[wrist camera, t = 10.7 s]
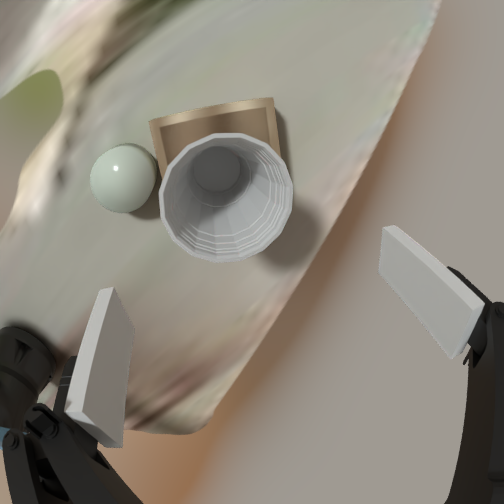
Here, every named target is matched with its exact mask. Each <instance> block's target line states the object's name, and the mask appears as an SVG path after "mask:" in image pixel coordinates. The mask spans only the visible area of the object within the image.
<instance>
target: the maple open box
mask: <svg viewBox="0 0 504 504" xmlns="http://www.w3.org/2000/svg"><path fill="white" fill-rule="evenodd" d="M149 125H150V130H151V134H152V139H153V143H154V148H155V152H156V156H157V161H158V165H159V169H160V173H161V177H162V181H163V178H164V175H165V172H166V170H167V167H168V165H169V164H170V163H171V162H172V161H173V160H174V159H175V158H176V157H177V156H178V155H179V153H180V152H181V151H182V150H183V149H184V148H185V147H186V146H187V145H189V144H191V143H193V142H195V141H198V140H200V139H202V138H204V137H207V136H209V135H211V134H213V133H243V134H246V135H248V136H251V137H253V138H255V139H258V140H260V141H262V142H265V143H267V144H268V145H269V146H270V147H271V148H272V149H273V150H274V151H275V152H276V153H277V154H278V156H279V157H280V158H281V155H280V146H279V138H278V130H277V122H276V115H275V107H274V100H273V98H259V99H252V100H245V101H238V102H232V103H226V104H220V105H214V106H209V107H204V108H199V109H194V110H189V111H185V112H180V113H176V114H172V115H168V116H164V117H160V118H156V119H153V120H151V121H149Z"/></svg>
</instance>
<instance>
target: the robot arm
mask: <svg viewBox="0 0 504 504" xmlns="http://www.w3.org/2000/svg"><path fill="white" fill-rule="evenodd" d="M378 273H379V274H380V275H381V277H382V278H383V279H384V280H385V281H386V282H387V283H388V284H389V286H390V287H391V288H392V289H393V290H394V291H395V292H396V293H397V295H398V296H399V297H400V298H401V299H402V300H403V302H404V303H405V304H406V305H407V306H408V307H409V309H410V310H411V311H412V312H413V313H414V314H415V316H416V317H417V318H418V319H419V321H420V322H421V323H422V324H423V325H424V327H425V328H426V329H427V330H428V332H429V333H430V334H431V335H432V337H433V338H434V339H435V340H436V342H437V343H438V344H439V345H440V347H441V348H442V349H443V351H444V352H445V353H446V355H447V356H448V357H449V358H450V359H452V358H454V357H455V356H457V355H459V354H461V353H462V352H463V350H464V348H465V346H466V344H467V343H468V344H469V345H470V346H471V348H470V350H469V352H468V354H467V356H466V357H465V359H464V361H463V365H465V364H466V362H467V360H468V359H469V364H468V366H469V368H468V369H469V370H468V388H467V402H466V411H465V419H464V427H463V433H462V440H461V445H460V451H459V456H458V461H457V465H456V470H455V474H454V478H453V482H452V486H451V489H450V493H449V496H448V498H447V500H446V502H445V503H444V504H504V303H502V302H494V303H492V302H491V301H490V300H489V299H488V298H487V297H486V296H485V295H484V294H483V293H482V292H480V290H478V289H477V288H476V287H475V286H474V285H473V284H471V282H470V281H469V280H468V279H466V278H465V277H464V276H463V275H462V274H461V273H460V272H459V271H457V270H455V269H453V268H451V267H449V266H448V267H445V266H444V265H443V264H442V263H441V262H440V261H438V260H437V259H436V258H435V257H434V256H433V255H431V254H430V253H429V252H428V251H426V250H425V249H424V248H423V247H422V246H421V245H419V244H418V243H417V242H416V241H414V240H413V239H412V238H411V237H409V236H408V235H407V234H405V233H404V232H403V231H402V230H401V229H399V228H398V227H397V226H395V225H392V226H387V227H383V230H382V241H381V252H380V262H379V270H378ZM134 333H135V328H134V326H133V324H132V322H131V321H130V319H129V317H128V315H127V313H126V311H125V309H124V307H123V305H122V303H121V301H120V299H119V297H118V295H117V292H116V290H115V288H114V287H110V288H105V289H101V290H100V291H99V293H98V296H97V299H96V302H95V304H94V307H93V310H92V313H91V316H90V319H89V322H88V325H87V328H86V331H85V334H84V337H83V340H82V343H81V347H80V350H79V353H78V356H71V357H70V359H69V360H68V362H67V363H66V365H65V367H64V370H63V374H62V378H61V381H60V386H59V388H58V392H57V396H56V399H55V404H54V408H53V411H52V410H51V409H49V408H48V407H47V406H46V405H45V404H42V403H37V400H38V397H39V394H40V393H41V392H42V391H43V389H44V388H45V387H46V386H47V384H48V383H49V382H50V381H51V379H52V378H53V375H54V372H55V369H56V363H55V360H54V358H53V356H52V354H51V353H50V351H49V350H48V349H47V348H46V347H45V346H44V345H43V344H42V343H41V342H40V341H39V340H38V339H36V338H35V337H34V336H32V335H31V334H29V333H27V332H25V331H23V330H21V329H18V328H14V327H4V328H2V329H0V449H1V450H3V457H4V464H5V470H6V476H7V481H8V486H9V491H10V495H11V499H12V503H13V504H143V503H142V502H141V500H140V499H139V498H138V497H137V496H136V495H135V494H134V493H133V492H132V491H131V489H130V488H129V487H128V486H127V485H126V484H125V482H124V481H123V480H122V479H121V478H120V476H119V475H118V474H117V473H116V471H115V470H114V469H113V468H112V466H111V465H110V464H109V462H108V461H107V460H106V459H105V457H104V456H103V454H102V453H101V452H100V451H99V450H98V449H97V444H98V442H99V443H100V444H102V445H103V446H104V447H107V448H109V447H110V448H111V447H113V448H120V447H121V448H122V447H123V430H124V416H125V404H126V394H127V385H128V376H129V368H130V360H131V353H132V346H133V339H134ZM29 432H30V433H29Z"/></svg>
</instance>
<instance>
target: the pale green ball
mask: <svg viewBox="0 0 504 504" xmlns="http://www.w3.org/2000/svg"><path fill="white" fill-rule="evenodd" d="M156 179H157V166H156V163H155V160H154V158H153V157H152V155H151V154H150V153H149V152H148V151H147V150H146V149H145V148H143V147H141V146H139V145H137V144H132V143H125V144H120V145H117V146H115V147H114V148H112V149H110V150H109V151H107V152H106V153H104V154H103V155H102V156H100V157H99V158H98V160H97V161H96V162H95V164H94V166H93V168H92V171H91V175H90V185H91V190H92V193H93V195H94V197H95V198H96V200H97V201H98V202H99V203H100V204H101V205H102V206H103V207H104V208H106V209H108V210H110V211H113V212H117V213H127V212H131V211H134V210H136V209H138V208H139V207H141V206H142V205H143V204H144V203H145V202H146V201H147V199H148V198H149V196H150V194H151V192H152V190H153V187H154V185H155V182H156Z"/></svg>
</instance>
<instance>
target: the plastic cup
mask: <svg viewBox="0 0 504 504" xmlns="http://www.w3.org/2000/svg"><path fill="white" fill-rule="evenodd" d="M292 198H293V184H292V181H291V178H290V175H289V172H288V170H287V167H286V164H285V162H284V161H283V160H282V159H281V158H280V157H279V156H278V154H277V153H276V152H275V151H274V150H273V149H272V148H271V147H270V146H269V145H268V144H267V143H265V142H262V141H260V140H258V139H255V138H253V137H251V136H248V135H246V134H243V133H213V134H211V135H209V136H207V137H204V138H202V139H200V140H198V141H195V142H193V143H191V144H189V145H187V146H186V147H185V148H184V149H183V150H182V151H181V152H180V153H179V155H178V156H177V157H176V158H175V159H174V160H173V161H172V162H171V163H170V164H169V165H168V167H167V170H166V172H165V175H164V178H163V181H162V184H161V187H160V190H159V204H160V216H161V220H162V222H163V224H164V226H165V227H166V229H167V231H168V233H169V235H170V237H171V238H172V240H173V241H174V242H175V243H176V244H178V245H179V246H180V247H181V248H183V249H184V250H185V251H186V252H188V253H189V254H190V255H192V256H194V257H197V258H201V259H204V260H208V261H211V262H215V263H221V262H233V261H242V260H244V259H246V258H248V257H250V256H253V255H255V254H257V253H259V252H261V251H263V250H264V249H265V248H266V247H268V246H269V245H270V244H271V243H272V242H273V241H274V240H275V239H276V238H277V237H278V236H279V235H280V234H281V232H282V230H283V228H284V226H285V224H286V222H287V220H288V218H289V215H290V213H291V211H292Z"/></svg>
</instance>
